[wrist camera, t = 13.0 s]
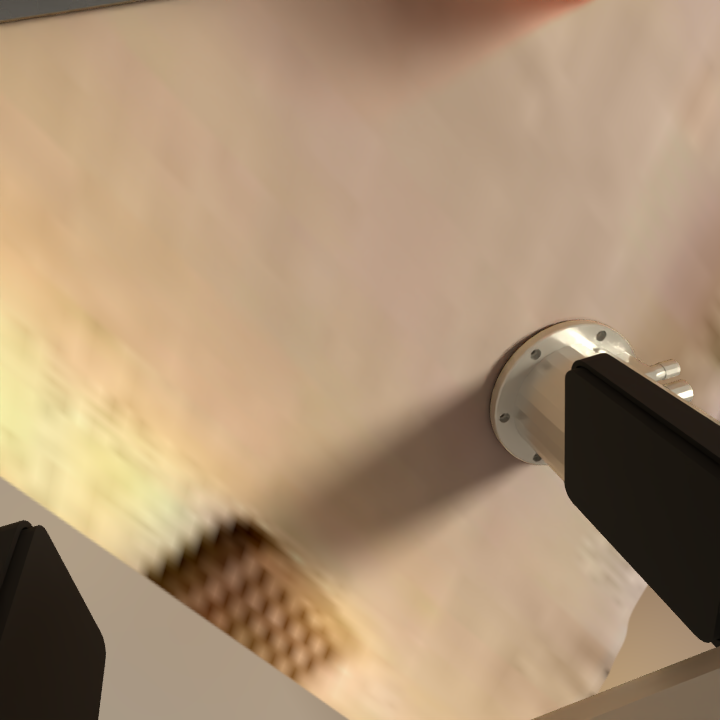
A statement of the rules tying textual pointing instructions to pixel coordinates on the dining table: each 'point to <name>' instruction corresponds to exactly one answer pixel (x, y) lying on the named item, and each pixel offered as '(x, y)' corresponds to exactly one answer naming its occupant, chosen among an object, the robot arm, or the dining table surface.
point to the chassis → (49, 7)
